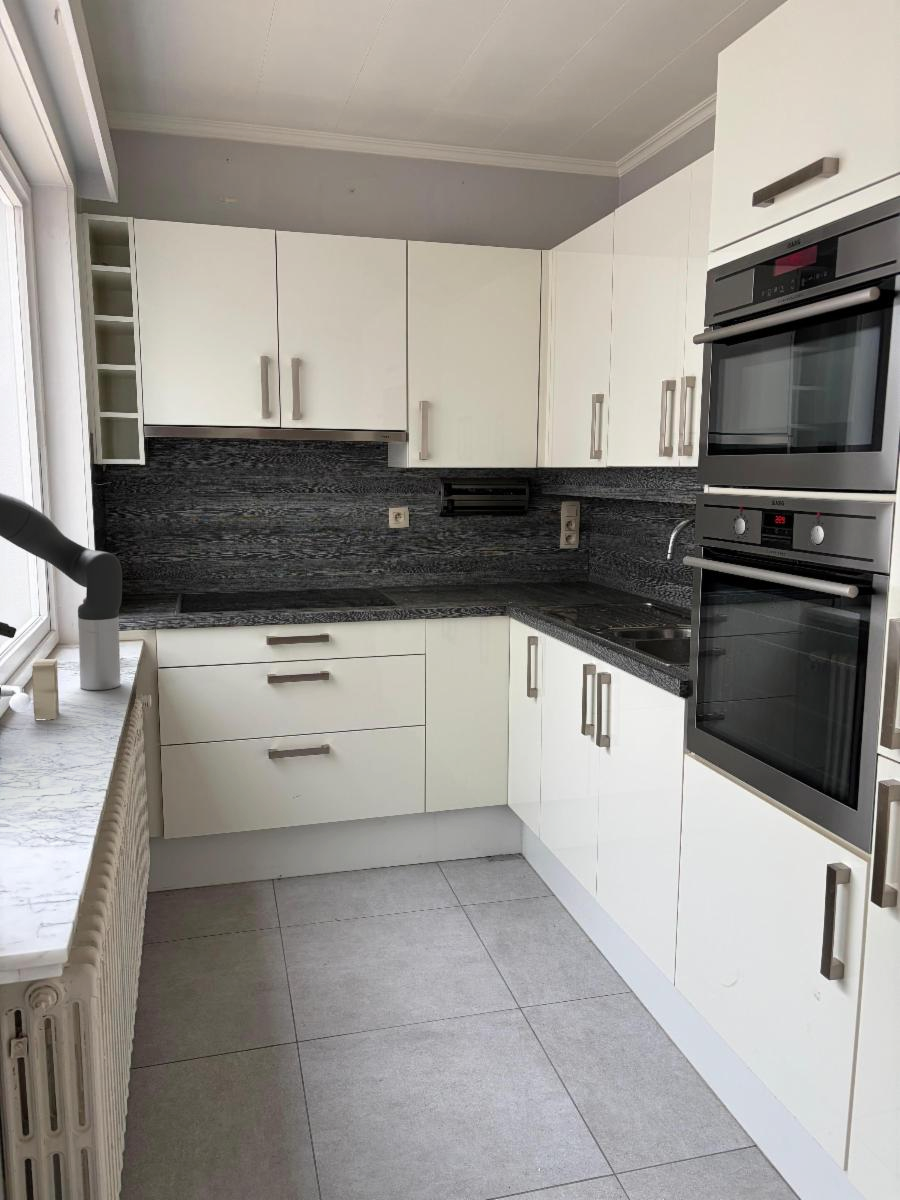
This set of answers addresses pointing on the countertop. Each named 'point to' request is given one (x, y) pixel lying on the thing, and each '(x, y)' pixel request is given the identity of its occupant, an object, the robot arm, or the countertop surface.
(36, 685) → the birch block
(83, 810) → the countertop surface
